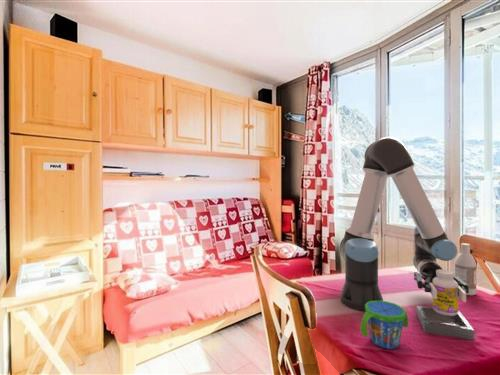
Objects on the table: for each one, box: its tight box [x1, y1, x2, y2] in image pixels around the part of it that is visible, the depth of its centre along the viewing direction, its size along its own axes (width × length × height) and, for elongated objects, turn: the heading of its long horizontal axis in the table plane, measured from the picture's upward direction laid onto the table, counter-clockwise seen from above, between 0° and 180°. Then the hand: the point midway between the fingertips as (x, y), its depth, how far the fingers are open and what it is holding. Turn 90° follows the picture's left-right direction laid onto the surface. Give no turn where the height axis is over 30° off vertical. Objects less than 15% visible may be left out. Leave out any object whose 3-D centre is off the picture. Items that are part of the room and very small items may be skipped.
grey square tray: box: [416, 305, 475, 341], centre depth 89 cm, size 12×12×3 cm
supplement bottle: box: [432, 268, 459, 316], centre depth 89 cm, size 7×7×13 cm
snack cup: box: [359, 300, 409, 350], centre depth 81 cm, size 16×10×10 cm
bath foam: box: [454, 242, 477, 296], centre depth 115 cm, size 7×7×20 cm
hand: (449, 295), depth 84 cm, fingers closed on supplement bottle, 7 cm apart
